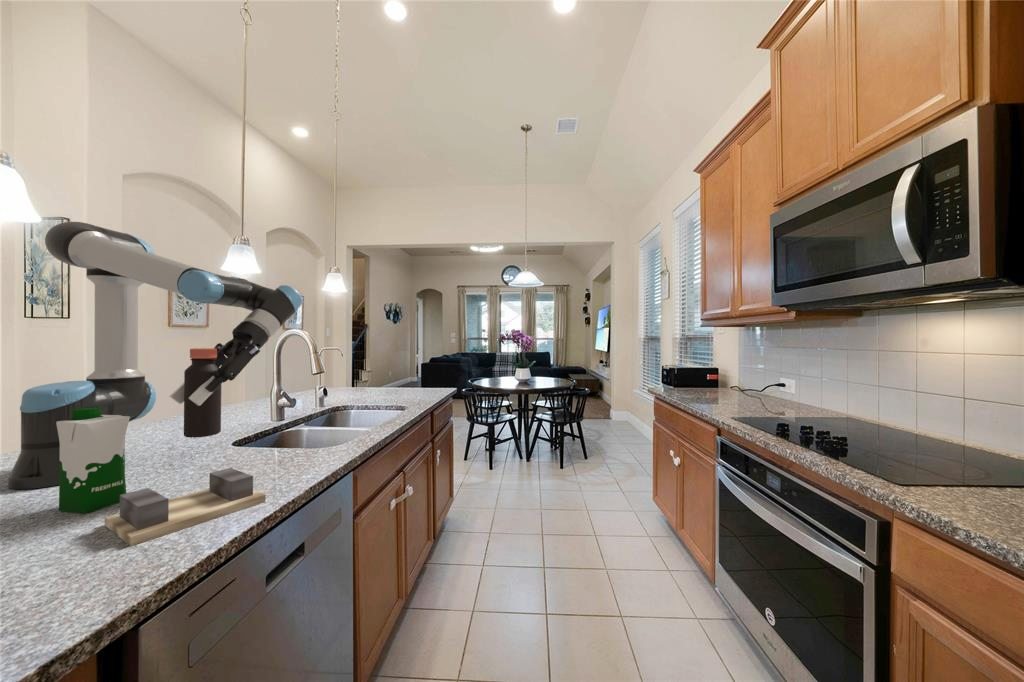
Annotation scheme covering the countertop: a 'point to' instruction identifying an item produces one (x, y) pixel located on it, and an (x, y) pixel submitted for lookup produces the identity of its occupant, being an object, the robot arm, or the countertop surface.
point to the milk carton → (91, 460)
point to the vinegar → (209, 412)
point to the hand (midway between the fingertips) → (184, 400)
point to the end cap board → (182, 507)
